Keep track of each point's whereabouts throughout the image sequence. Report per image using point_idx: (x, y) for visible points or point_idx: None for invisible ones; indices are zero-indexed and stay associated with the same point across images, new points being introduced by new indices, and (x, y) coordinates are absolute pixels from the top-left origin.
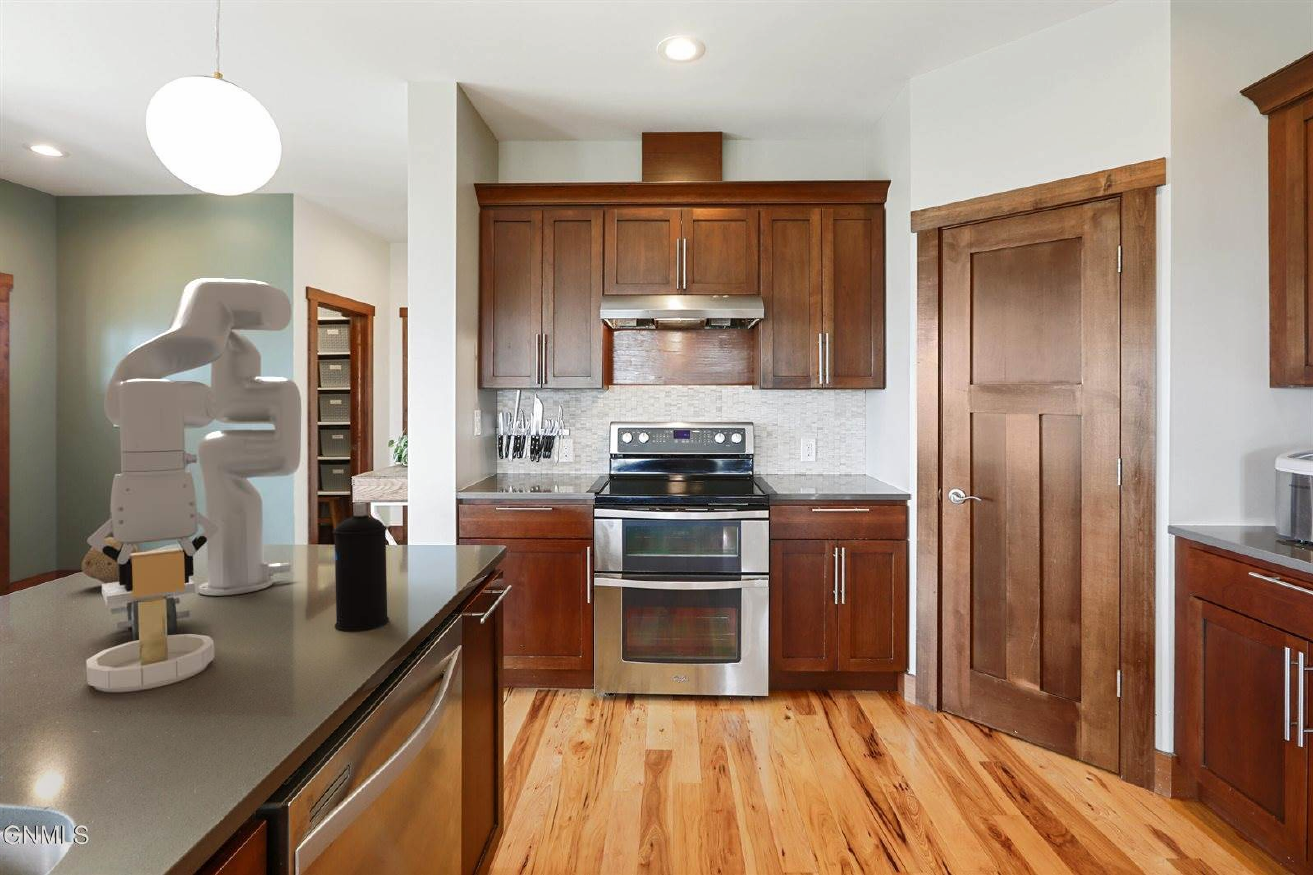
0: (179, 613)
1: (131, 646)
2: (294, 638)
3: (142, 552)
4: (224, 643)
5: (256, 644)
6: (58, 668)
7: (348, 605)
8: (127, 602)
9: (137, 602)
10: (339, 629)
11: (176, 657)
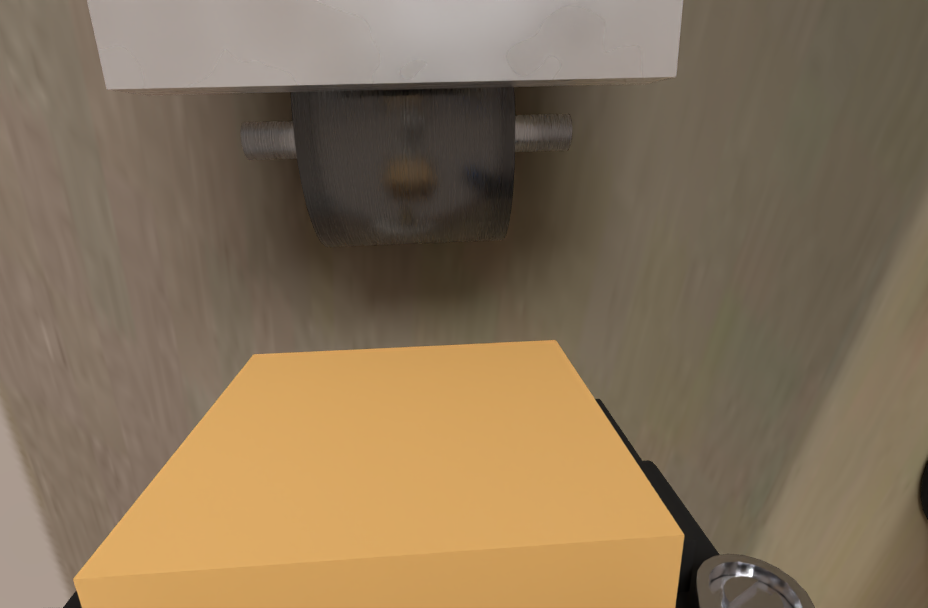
0: (524, 146)
1: None
2: (789, 480)
3: (244, 595)
4: (611, 390)
5: (683, 467)
6: (108, 312)
7: None
8: (260, 92)
9: (318, 117)
10: (922, 497)
11: None
